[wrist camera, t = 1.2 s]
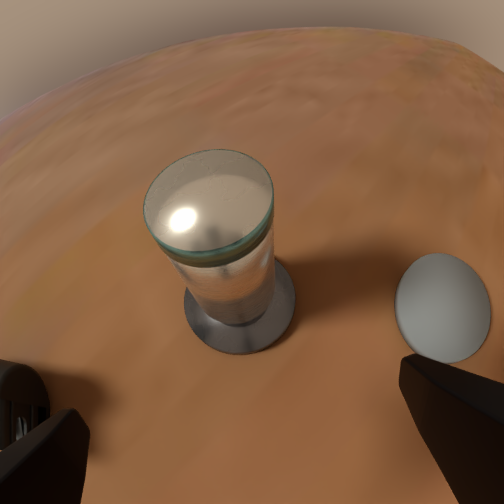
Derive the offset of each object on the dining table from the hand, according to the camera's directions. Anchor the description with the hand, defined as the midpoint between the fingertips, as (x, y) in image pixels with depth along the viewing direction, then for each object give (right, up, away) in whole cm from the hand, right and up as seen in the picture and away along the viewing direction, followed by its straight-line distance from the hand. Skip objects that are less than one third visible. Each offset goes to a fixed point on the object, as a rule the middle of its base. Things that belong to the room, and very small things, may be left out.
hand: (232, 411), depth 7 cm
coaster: (+16, -1, +14) cm, 21 cm away
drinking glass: (-1, +2, +13) cm, 13 cm away
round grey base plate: (0, 0, +15) cm, 15 cm away
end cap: (-21, -10, +12) cm, 26 cm away
